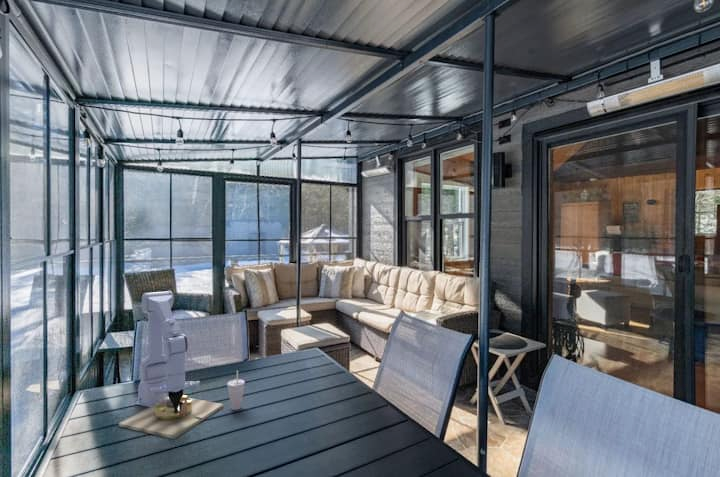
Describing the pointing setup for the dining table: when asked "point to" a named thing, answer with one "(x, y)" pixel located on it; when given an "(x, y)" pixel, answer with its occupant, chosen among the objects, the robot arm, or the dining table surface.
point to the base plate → (170, 428)
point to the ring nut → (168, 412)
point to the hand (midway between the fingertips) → (175, 412)
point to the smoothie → (236, 392)
